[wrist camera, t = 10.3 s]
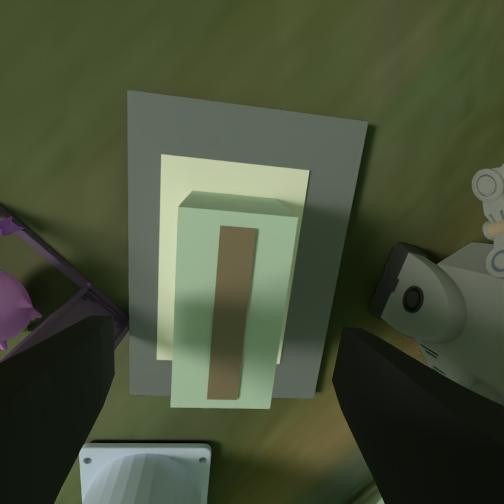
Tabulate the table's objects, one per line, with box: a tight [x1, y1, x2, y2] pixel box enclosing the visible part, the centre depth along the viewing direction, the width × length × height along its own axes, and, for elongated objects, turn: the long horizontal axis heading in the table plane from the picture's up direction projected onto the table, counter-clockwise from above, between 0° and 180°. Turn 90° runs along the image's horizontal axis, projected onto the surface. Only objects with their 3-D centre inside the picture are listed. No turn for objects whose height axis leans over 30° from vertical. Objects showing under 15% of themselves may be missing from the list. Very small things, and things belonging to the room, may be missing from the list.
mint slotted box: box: [171, 190, 298, 409], centre depth 14 cm, size 4×8×5 cm, turn 174°
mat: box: [127, 90, 368, 399], centre depth 17 cm, size 16×11×1 cm
